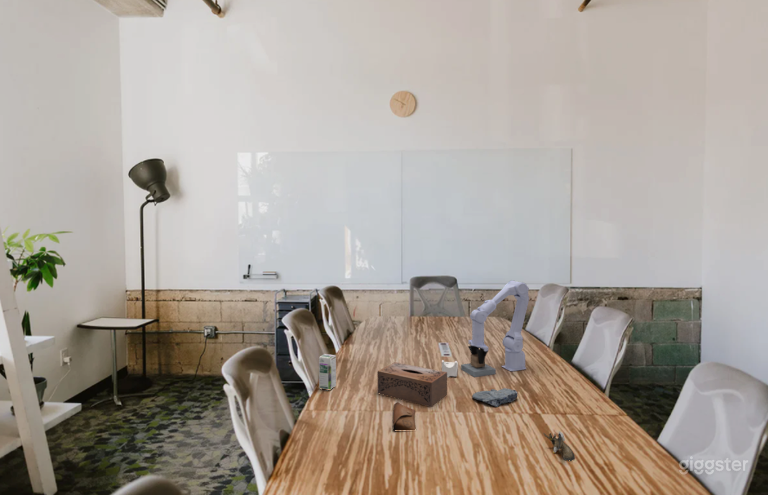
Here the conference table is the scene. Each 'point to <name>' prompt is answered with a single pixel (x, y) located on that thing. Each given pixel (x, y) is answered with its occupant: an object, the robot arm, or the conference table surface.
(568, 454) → the grey-brown figure
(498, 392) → the fossil
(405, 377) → the tissue box cover
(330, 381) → the syrup box
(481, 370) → the base slab
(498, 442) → the conference table surface
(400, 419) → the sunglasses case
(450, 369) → the bracket
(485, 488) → the conference table surface
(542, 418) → the conference table surface
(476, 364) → the walnut cube
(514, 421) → the conference table surface
